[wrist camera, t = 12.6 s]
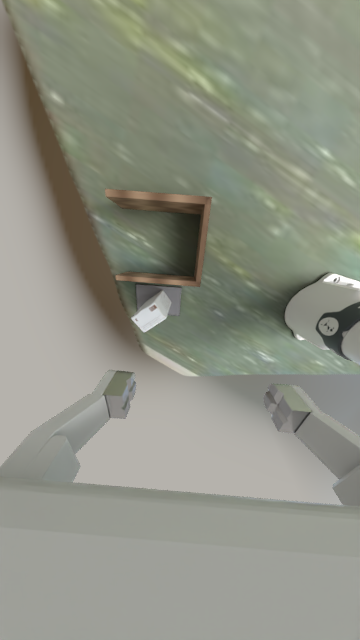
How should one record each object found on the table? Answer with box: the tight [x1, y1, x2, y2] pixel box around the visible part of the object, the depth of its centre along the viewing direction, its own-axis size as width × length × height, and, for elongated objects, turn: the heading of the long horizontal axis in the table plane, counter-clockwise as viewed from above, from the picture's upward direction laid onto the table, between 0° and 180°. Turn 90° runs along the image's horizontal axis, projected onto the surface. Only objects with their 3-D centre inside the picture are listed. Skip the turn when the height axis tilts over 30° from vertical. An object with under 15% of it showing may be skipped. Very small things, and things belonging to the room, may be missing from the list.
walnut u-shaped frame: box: [105, 189, 212, 287], centre depth 30 cm, size 18×15×7 cm
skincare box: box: [131, 290, 171, 333], centre depth 33 cm, size 6×4×12 cm
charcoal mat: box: [136, 284, 181, 316], centre depth 39 cm, size 12×8×1 cm, turn 86°
